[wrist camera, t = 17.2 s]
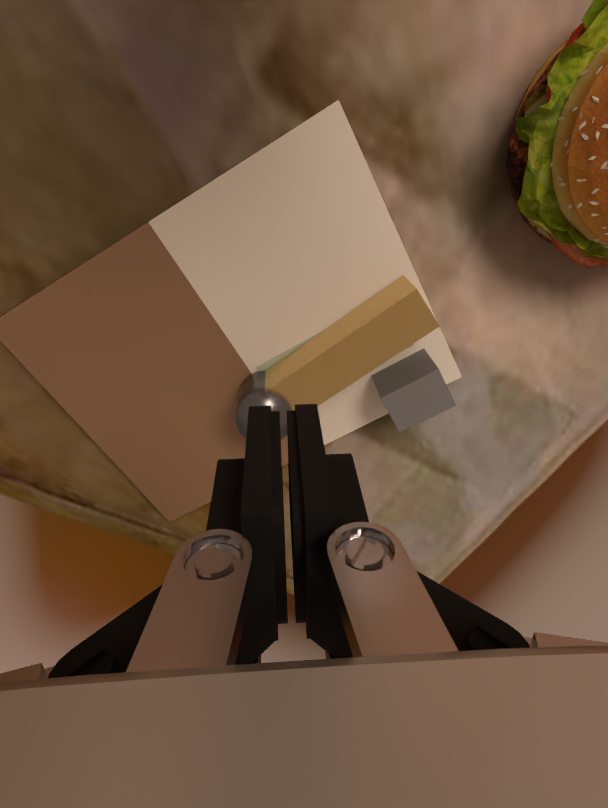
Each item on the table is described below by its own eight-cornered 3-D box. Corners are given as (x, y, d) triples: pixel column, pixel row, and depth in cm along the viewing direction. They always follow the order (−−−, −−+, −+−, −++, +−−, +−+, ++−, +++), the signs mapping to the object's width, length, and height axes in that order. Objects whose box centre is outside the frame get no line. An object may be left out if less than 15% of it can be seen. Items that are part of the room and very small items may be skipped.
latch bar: (260, 425, 36) (259, 453, 32) (228, 390, 34) (223, 415, 31) (428, 314, 32) (445, 333, 29) (400, 269, 31) (415, 285, 28)
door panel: (336, 101, 28) (347, 95, 23) (456, 369, 36) (479, 399, 32) (-5, 319, 32) (-44, 346, 28) (172, 512, 41) (161, 553, 37)
